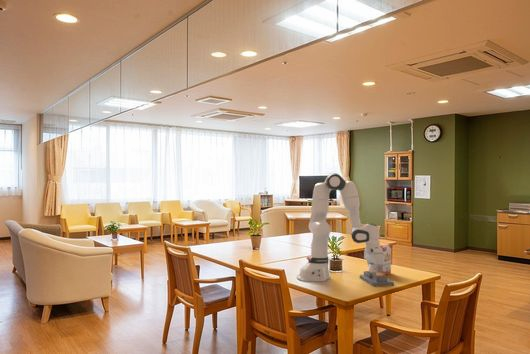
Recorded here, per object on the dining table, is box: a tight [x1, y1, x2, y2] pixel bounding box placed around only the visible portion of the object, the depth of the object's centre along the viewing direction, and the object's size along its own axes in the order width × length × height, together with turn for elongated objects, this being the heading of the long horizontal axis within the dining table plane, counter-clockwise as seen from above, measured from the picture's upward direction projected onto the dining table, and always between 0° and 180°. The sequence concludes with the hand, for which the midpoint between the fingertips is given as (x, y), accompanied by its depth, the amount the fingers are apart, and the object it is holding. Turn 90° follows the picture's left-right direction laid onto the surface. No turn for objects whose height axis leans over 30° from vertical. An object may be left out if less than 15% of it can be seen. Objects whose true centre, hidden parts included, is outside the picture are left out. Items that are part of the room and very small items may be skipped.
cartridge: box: [368, 261, 377, 274], centre depth 257 cm, size 5×5×10 cm
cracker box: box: [378, 242, 392, 276], centre depth 270 cm, size 14×6×21 cm, turn 139°
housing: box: [359, 270, 395, 287], centre depth 252 cm, size 14×20×6 cm
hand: (372, 269), depth 257 cm, fingers open, 8 cm apart
